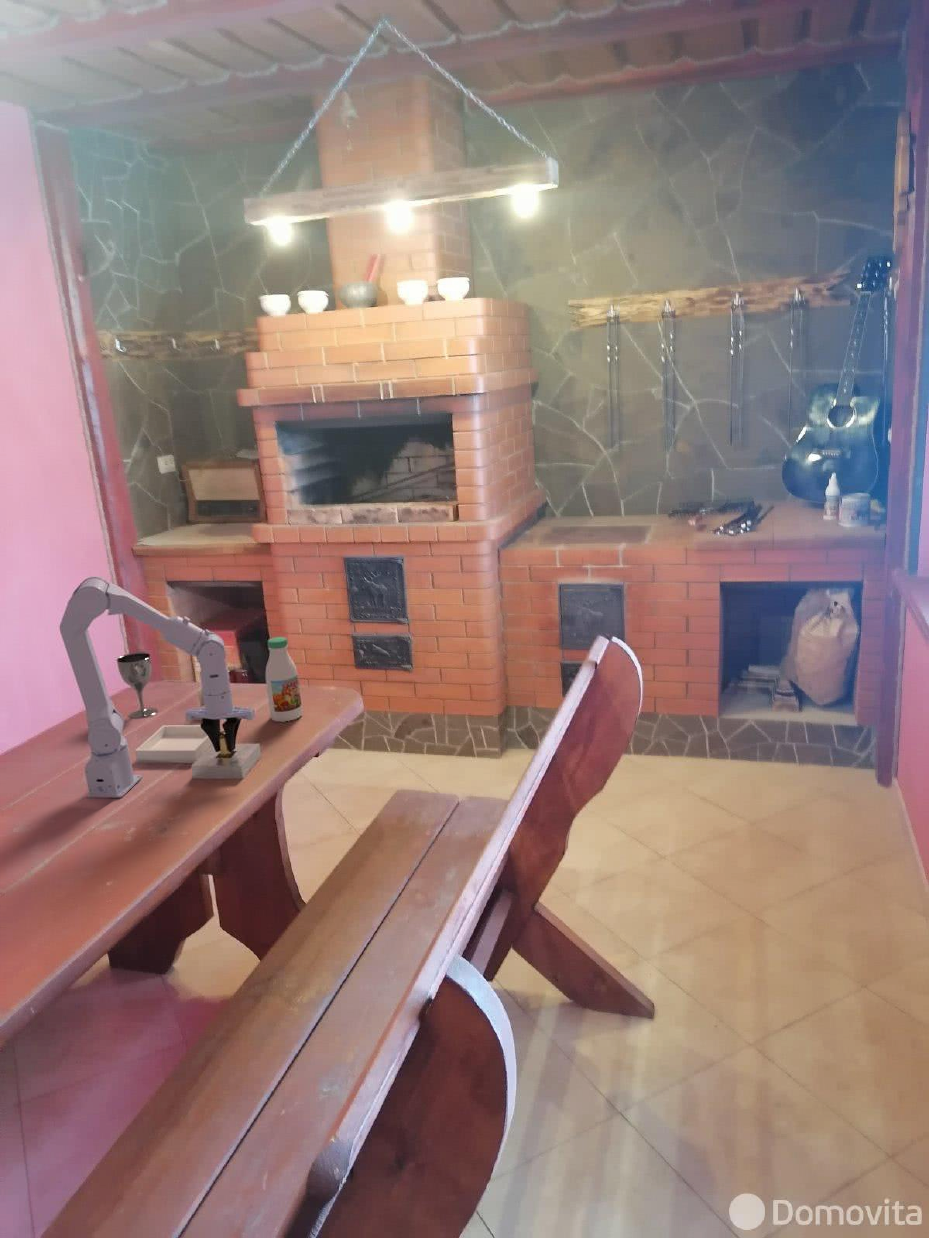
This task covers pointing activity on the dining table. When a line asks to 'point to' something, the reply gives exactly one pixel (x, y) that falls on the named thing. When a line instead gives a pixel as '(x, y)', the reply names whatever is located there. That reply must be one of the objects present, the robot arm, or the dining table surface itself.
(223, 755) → the pin
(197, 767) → the grey square socket block
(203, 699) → the architectural model
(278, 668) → the milk bottle
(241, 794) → the dining table surface
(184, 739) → the tray
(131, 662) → the wine glass
